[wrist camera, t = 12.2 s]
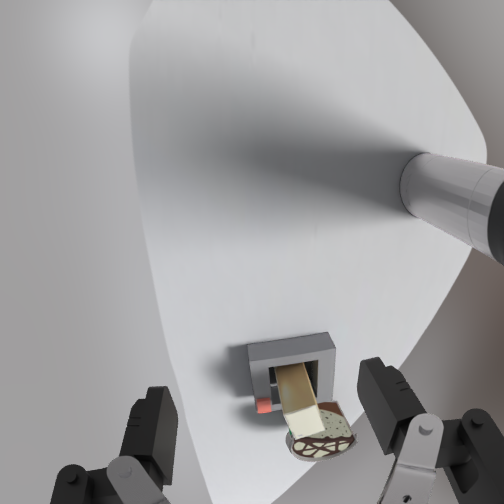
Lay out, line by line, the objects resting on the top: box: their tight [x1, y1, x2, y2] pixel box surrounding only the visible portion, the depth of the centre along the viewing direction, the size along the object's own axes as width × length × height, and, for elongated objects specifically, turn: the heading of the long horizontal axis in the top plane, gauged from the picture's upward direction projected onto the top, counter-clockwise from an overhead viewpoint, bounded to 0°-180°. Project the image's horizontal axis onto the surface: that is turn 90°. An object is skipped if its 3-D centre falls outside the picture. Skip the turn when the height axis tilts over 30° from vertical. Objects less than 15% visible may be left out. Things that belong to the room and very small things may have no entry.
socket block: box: [247, 332, 336, 414], centre depth 45 cm, size 12×11×5 cm
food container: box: [286, 401, 358, 462], centre depth 47 cm, size 12×6×10 cm, turn 74°
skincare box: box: [274, 362, 325, 440], centre depth 41 cm, size 6×4×12 cm
